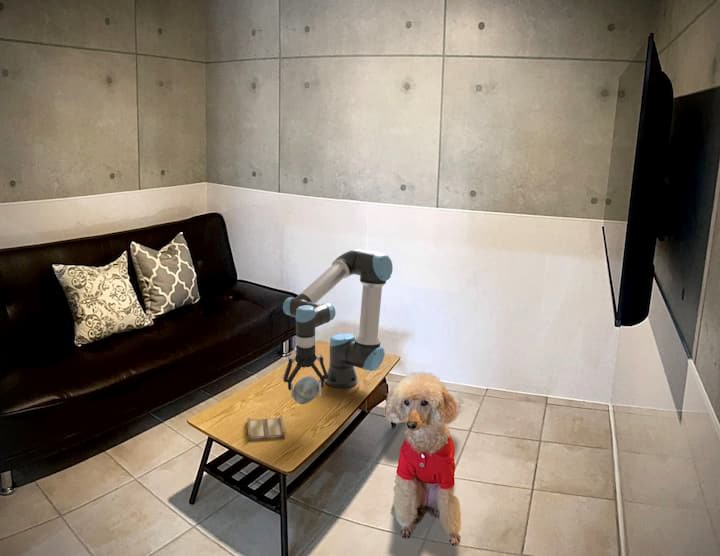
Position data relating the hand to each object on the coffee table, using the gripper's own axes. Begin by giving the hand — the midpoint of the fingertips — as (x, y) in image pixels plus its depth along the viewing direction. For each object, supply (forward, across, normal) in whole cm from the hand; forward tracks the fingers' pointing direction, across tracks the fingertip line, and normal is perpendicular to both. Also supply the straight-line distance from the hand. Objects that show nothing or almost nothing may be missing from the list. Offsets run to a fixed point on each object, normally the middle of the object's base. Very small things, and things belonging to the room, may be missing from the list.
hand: (305, 395), depth 247 cm
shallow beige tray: (+13, +16, +2) cm, 21 cm away
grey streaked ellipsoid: (+2, 0, 0) cm, 2 cm away
